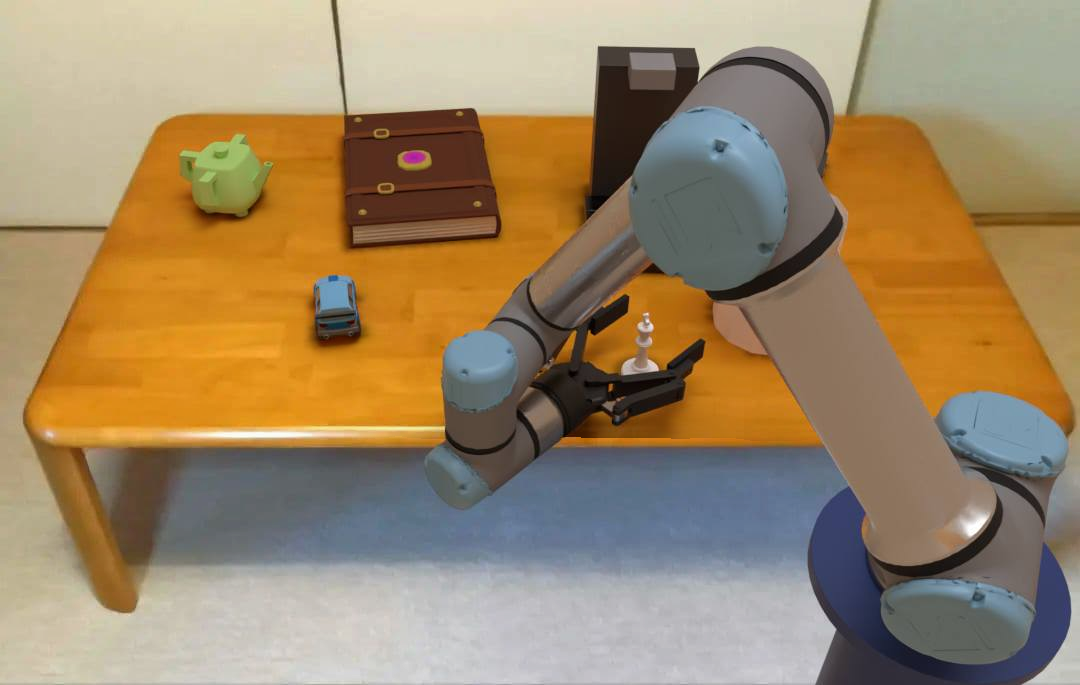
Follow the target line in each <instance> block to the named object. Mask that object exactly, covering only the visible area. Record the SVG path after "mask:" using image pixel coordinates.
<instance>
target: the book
mask: <svg viewBox="0 0 1080 685" xmlns="http://www.w3.org/2000/svg"><path fill="white" fill-rule="evenodd" d="M477 112H478V111H477V110H476V109H475V107H474V108H473V107H466V108H464V107H463V108H448V109H447V108H445V109H433V110H416V111H414V110H413V111H397V112H380V113H363V114H362V113H361V114H349V115H348V114H347V115H343V128H344V132H343V133H344V135H342V139H343V140H342V143H343V148H344V150H343V151H344V159H345V160H344V162H345V164H344V165H345V166H344V167H345V191H344V201H345V209H346V226H348V227H349V248H359V247H373V246H387V245H398V244H400V245H401V244H413V243H428V242H439V241H441V242H442V241H452V240H466V239H467V240H468V239H476V238H477V239H478V238H479V239H481V238H492V237H498V236H499V234H500V233H501V231H502V219H501V215H500V210H499V205H498V202H497V201H498V194H497V189H496V186H495V184H494V183H493V179H492V174H491V170H490V165H489V160H488V157H487V152H486V148H485V144H486V143H485V136H484V132H483V131H482V129H481V124H480V120H479V116H478V113H477Z"/></svg>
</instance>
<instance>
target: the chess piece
mask: <svg viewBox="0 0 1080 685" xmlns="http://www.w3.org/2000/svg"><path fill="white" fill-rule="evenodd" d="M642 318H643V321H640V322H638V324H637V327H636V328H637V331H638V336H636V338H635V340H634V343H635V344H636V345H637V347H638V349H637V352H636V356H635V357H631V358H629V359H627V360H626V361H624V362H623V364H622V366H621V369H620V375H629V374H637V373H645V372H653V371H660V369H659V367H658V365H657V363H655V362H654V361H653V360H651V359H649V358H648V348H649V347H651V346H652V345H653V339H652V337H651V334H652V333H653V331H654V330H655V328H654V327H655V326H654V324H653V323H652V322H651V321H650V313H649V312H644V313H642Z"/></svg>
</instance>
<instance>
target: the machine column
mask: <svg viewBox="0 0 1080 685" xmlns="http://www.w3.org/2000/svg"><path fill="white" fill-rule="evenodd" d="M596 51H597V52H596V66H595V67H596V68H595V84H594V100H593V101H594V102H593V118H592V119H593V120H592V131H591V132H592V134H591V150H590V165H589V166H590V167H589V182H588V183H589V184H588V192H589V196H612V195H613V194H614V193H615V192H616V191H617V190H618V189H619V188H620V187H621V186H622V185H623V184H624V183H625V182H626V181H627V180H628V179H629V178H630V177H631V176H632V175H633V173H634V170H635V168H636V166H637V164H638V162H639V160H640V158H641V157H642V155H643V152H644V150H645V148H646V146H647V144H648V142H649V141H650V139H651V138H652V136H653V135H654V133H655V132H656V131H657V130H658V128H659V127H660V126H661V125H662V124H663V123H664V122H666V121H668V120H669V118H670V117H671V116H672V115H673V113H674V112H675V111H676V110H677V108H678V107H679V106H680V105H681V103H682V102H683V101H684V100H685V98H686V97H687V96H688V95H689V93H690V92H691V91H692V90H693V88H694V87H695V86H696V84H697V83H698V82H699V76H700V70H701V69H700V68H701V67H700V63H699V58H698V55H697V51H696V48H695V47H672V46H671V47H666V46H665V47H663V46H654V47H653V46H618V45H617V46H616V45H615V46H614V45H613V46H611V45H610V46H609V45H598V46H597V50H596Z"/></svg>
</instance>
